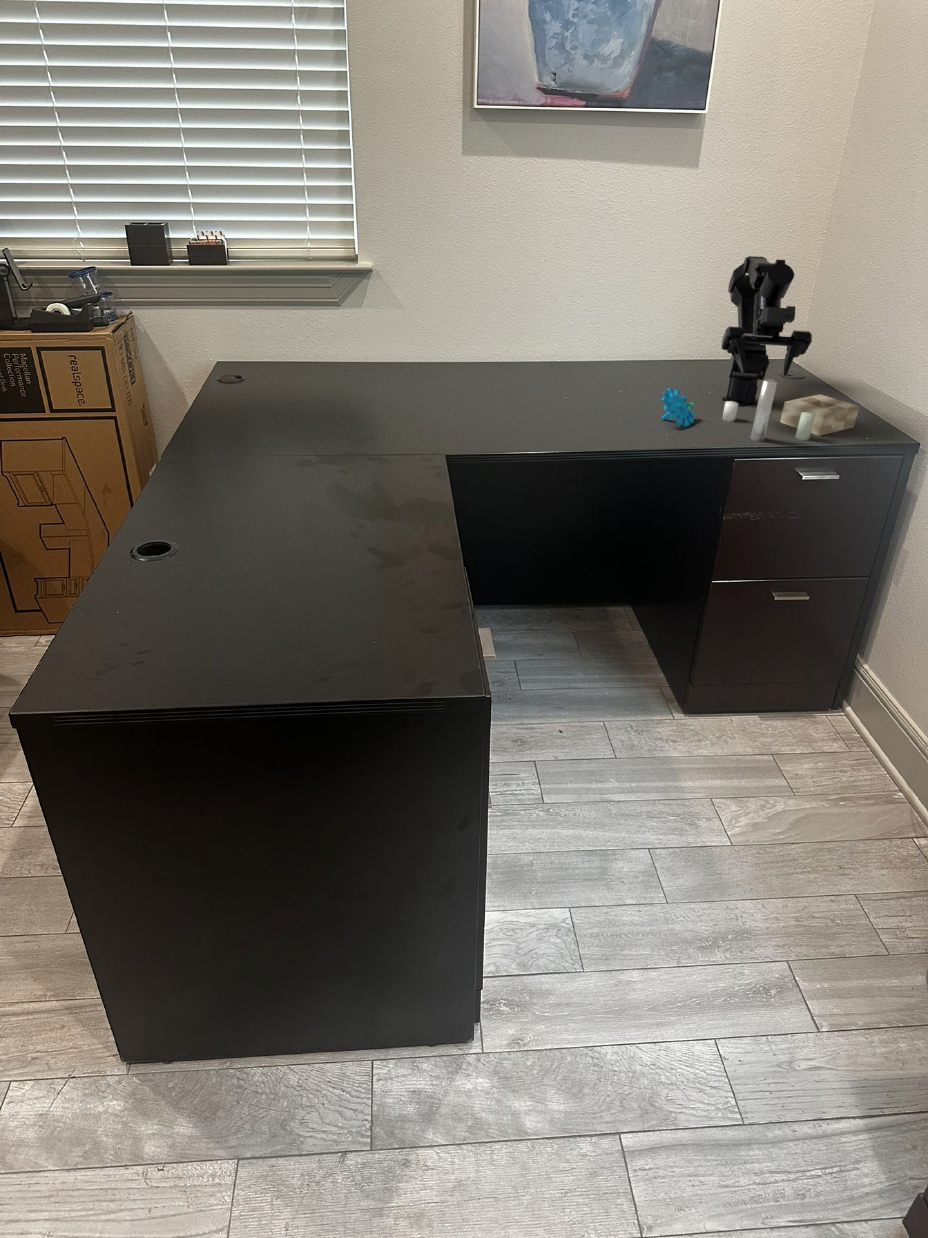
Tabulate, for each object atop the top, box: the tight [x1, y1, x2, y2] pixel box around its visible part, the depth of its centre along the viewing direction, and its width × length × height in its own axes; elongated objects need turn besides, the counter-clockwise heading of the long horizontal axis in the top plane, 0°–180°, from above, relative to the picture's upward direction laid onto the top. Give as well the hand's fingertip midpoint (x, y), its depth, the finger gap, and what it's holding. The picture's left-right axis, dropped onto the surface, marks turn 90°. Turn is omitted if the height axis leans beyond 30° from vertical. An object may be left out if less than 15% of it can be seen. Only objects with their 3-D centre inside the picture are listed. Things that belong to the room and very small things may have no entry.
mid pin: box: [795, 412, 815, 441], centre depth 188 cm, size 3×3×6 cm
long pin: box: [750, 378, 778, 442], centre depth 185 cm, size 3×3×13 cm
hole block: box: [779, 393, 860, 437], centre depth 197 cm, size 11×13×5 cm
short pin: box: [721, 400, 739, 422], centre depth 199 cm, size 3×3×4 cm
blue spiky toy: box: [661, 387, 696, 428], centre depth 196 cm, size 11×6×10 cm
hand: (764, 373), depth 188 cm, fingers open, 9 cm apart
